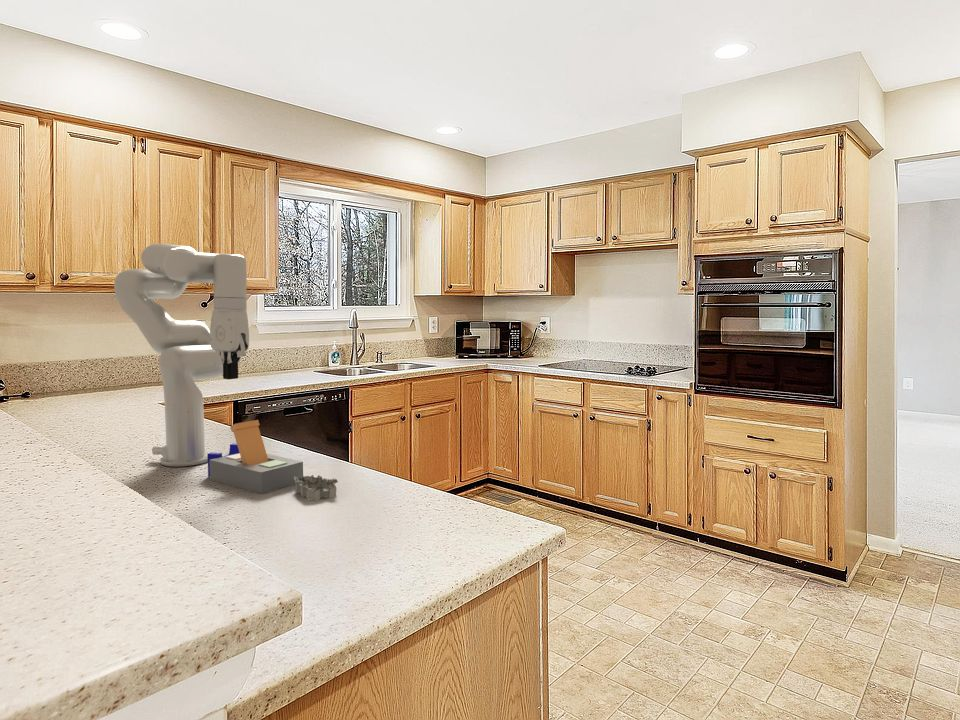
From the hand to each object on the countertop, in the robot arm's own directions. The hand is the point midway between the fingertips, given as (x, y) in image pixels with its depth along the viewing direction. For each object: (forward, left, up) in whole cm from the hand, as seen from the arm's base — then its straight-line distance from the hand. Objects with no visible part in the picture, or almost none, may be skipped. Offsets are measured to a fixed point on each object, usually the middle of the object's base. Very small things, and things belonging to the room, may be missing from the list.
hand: (230, 378), depth 157 cm
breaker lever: (+8, -6, -22) cm, 24 cm away
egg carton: (+24, -16, -25) cm, 38 cm away
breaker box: (+7, -5, -25) cm, 26 cm away
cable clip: (-4, +4, -25) cm, 26 cm away
